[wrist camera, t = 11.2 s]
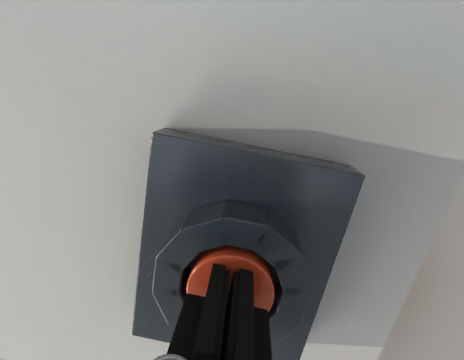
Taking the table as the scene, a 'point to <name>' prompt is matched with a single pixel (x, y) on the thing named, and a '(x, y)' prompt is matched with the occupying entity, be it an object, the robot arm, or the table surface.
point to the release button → (234, 262)
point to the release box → (240, 227)
